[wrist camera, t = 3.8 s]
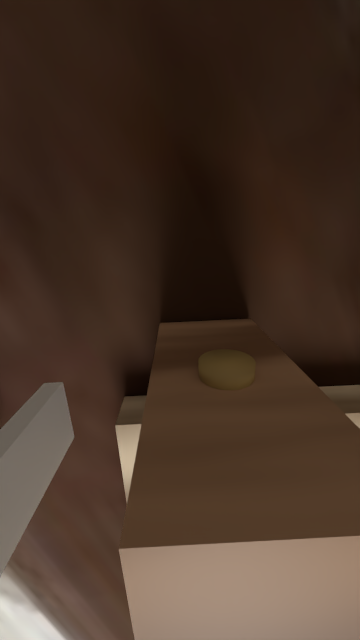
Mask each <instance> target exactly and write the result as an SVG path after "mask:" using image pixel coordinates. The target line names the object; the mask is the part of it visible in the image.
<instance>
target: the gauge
mask: <svg viewBox="0 0 360 640" xmlns="http://www.w3.org/2000/svg"><path fill="white" fill-rule="evenodd" d="M119 553H120V558H121V564H122V570H123V575H124V581H125V587H126V593H127V598H128V604H129V610H130V615H131V621H132V627H133V632H134V638H135V640H360V428H359V427H358V426H357V425H356V424H355V423H354V422H353V421H352V420H351V419H350V418H349V417H348V416H347V415H346V414H345V413H344V412H343V411H342V410H341V409H340V408H339V407H338V406H337V405H336V404H335V403H334V402H333V401H332V400H331V399H330V398H329V397H328V396H327V395H326V394H325V393H324V392H323V391H322V390H321V389H320V388H319V387H318V386H317V385H316V384H315V383H314V382H313V381H312V380H311V379H310V378H309V377H308V376H307V375H306V374H305V373H304V372H303V371H302V370H301V369H300V368H299V367H298V366H297V365H296V364H295V363H294V362H293V361H292V360H291V359H290V358H289V357H288V356H287V355H286V354H285V353H284V352H283V351H282V350H281V349H280V348H279V347H278V346H277V345H276V344H275V343H274V342H273V341H272V340H271V339H270V338H269V337H268V336H267V335H266V334H265V333H264V332H263V331H262V330H261V329H260V328H259V327H258V326H257V325H256V324H255V323H254V322H253V321H252V320H251V319H233V320H212V321H191V322H171V323H160V325H159V330H158V336H157V341H156V347H155V352H154V358H153V363H152V369H151V375H150V380H149V386H148V391H147V397H146V402H145V408H144V413H143V419H142V424H141V430H140V435H139V441H138V446H137V452H136V457H135V463H134V468H133V474H132V479H131V485H130V490H129V496H128V501H127V507H126V512H125V518H124V523H123V529H122V534H121V540H120V545H119Z"/></svg>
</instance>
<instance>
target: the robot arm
mask: <svg viewBox="0 0 360 640" xmlns="http://www.w3.org/2000/svg"><path fill="white" fill-rule="evenodd" d="M73 439H74V433H73V428H72V423H71V419H70V414H69V409H68V404H67V399H66V395H65V390H64V385H63V382H59V383H44V384H43V385H42V386H41V387H40V388H39V389H38V390H37V391H36V392H35V394H34V395H33V396H32V397H31V398H30V399H29V400H28V401H27V402H26V403H25V404H24V405H23V406H22V407H21V408H20V409H19V410H18V411H17V412H16V414H15V415H14V416H13V417H12V418H11V419H10V420H9V421H8V422H7V423H6V424H5V425H4V426H3V427H2V428H1V429H0V576H1V574H2V572H3V571H4V569H5V567H6V565H7V563H8V561H9V559H10V557H11V555H12V554H13V552H14V550H15V548H16V546H17V544H18V542H19V540H20V538H21V537H22V535H23V533H24V531H25V529H26V527H27V525H28V523H29V522H30V520H31V518H32V516H33V514H34V512H35V510H36V508H37V506H38V505H39V503H40V501H41V499H42V497H43V495H44V493H45V491H46V489H47V488H48V486H49V484H50V482H51V480H52V478H53V476H54V474H55V472H56V471H57V469H58V467H59V465H60V463H61V461H62V459H63V457H64V456H65V454H66V452H67V450H68V448H69V446H70V444H71V442H72V440H73Z"/></svg>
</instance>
